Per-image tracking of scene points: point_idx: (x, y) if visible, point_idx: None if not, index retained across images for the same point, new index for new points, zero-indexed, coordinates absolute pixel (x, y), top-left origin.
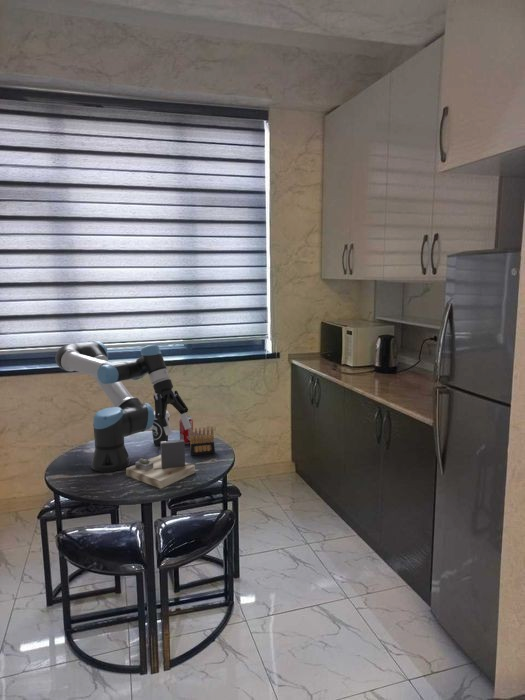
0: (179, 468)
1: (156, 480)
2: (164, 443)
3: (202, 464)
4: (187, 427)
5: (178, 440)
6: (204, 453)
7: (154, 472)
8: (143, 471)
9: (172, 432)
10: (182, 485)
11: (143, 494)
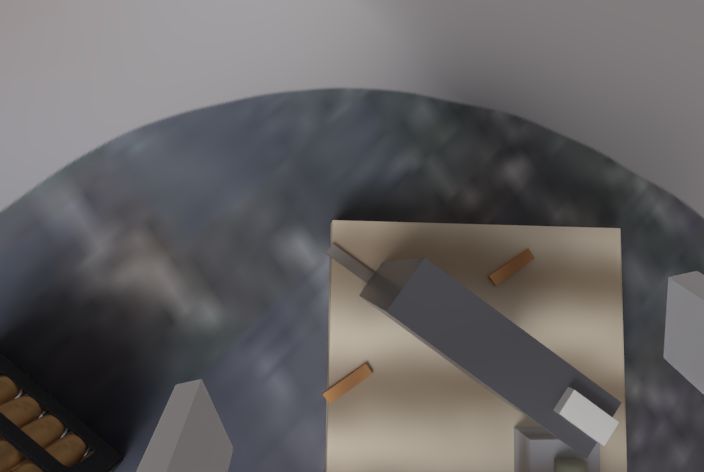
0: None
1: (617, 264)
2: (590, 386)
3: (207, 274)
4: (212, 425)
5: (441, 331)
6: (46, 395)
7: (562, 355)
8: None
9: (679, 281)
10: (495, 165)
11: (683, 257)
